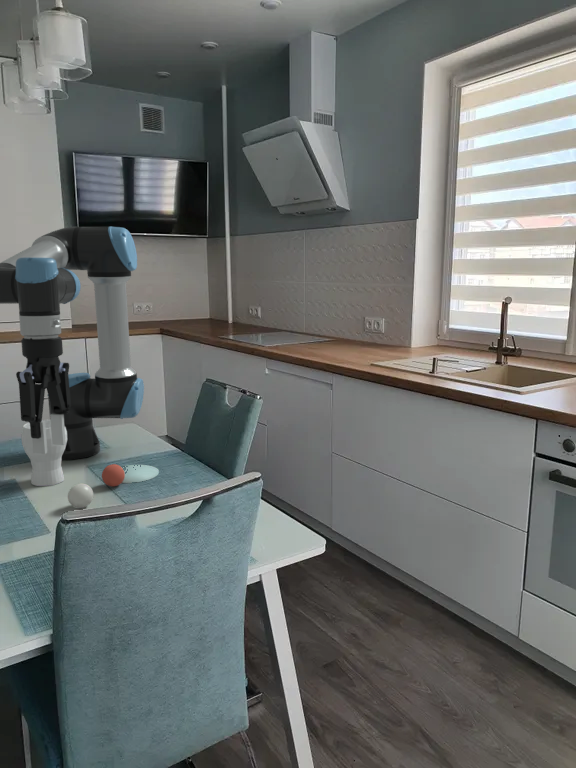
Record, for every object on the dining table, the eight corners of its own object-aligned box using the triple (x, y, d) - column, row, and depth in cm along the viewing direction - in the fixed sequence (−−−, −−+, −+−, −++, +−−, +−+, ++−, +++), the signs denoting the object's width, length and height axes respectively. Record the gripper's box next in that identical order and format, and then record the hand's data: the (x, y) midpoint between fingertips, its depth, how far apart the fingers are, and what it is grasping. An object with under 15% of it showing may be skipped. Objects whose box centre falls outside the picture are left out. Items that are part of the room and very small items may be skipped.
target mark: (95, 473, 155) (94, 472, 155) (142, 462, 164) (142, 461, 164) (120, 487, 145) (120, 486, 145) (169, 474, 154) (168, 473, 154)
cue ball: (64, 506, 133) (62, 483, 132) (87, 500, 137) (86, 478, 136) (74, 514, 129) (73, 490, 128) (98, 507, 133) (97, 484, 132)
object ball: (98, 485, 146) (97, 464, 145) (118, 480, 150) (117, 459, 149) (108, 491, 142) (107, 470, 141) (129, 486, 146) (128, 465, 145)
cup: (25, 477, 152) (20, 421, 149) (68, 471, 156) (65, 417, 153) (25, 491, 142) (20, 431, 140) (71, 485, 146) (67, 427, 144)
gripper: (26, 342, 107) (36, 463, 111) (84, 332, 124) (91, 437, 128) (-8, 340, 108) (2, 460, 113) (54, 331, 126) (61, 435, 130)
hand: (49, 448), depth 121 cm, fingers open, 5 cm apart
